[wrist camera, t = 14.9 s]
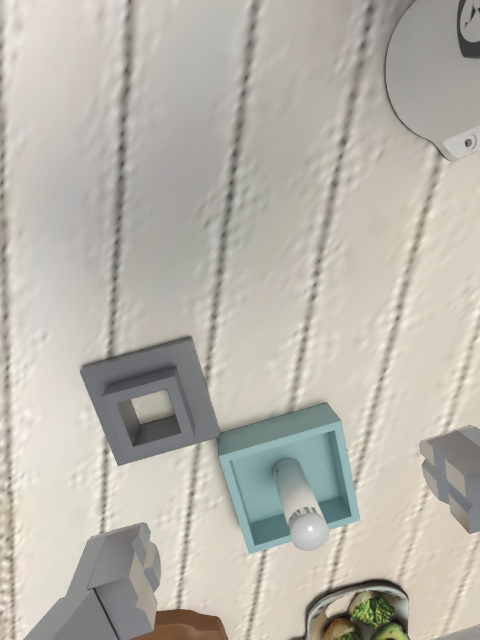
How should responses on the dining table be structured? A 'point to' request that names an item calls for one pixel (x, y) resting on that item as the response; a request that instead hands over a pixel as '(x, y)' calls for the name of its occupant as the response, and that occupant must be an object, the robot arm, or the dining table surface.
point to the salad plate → (362, 615)
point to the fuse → (299, 505)
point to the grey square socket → (145, 378)
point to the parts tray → (273, 445)
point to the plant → (185, 626)
